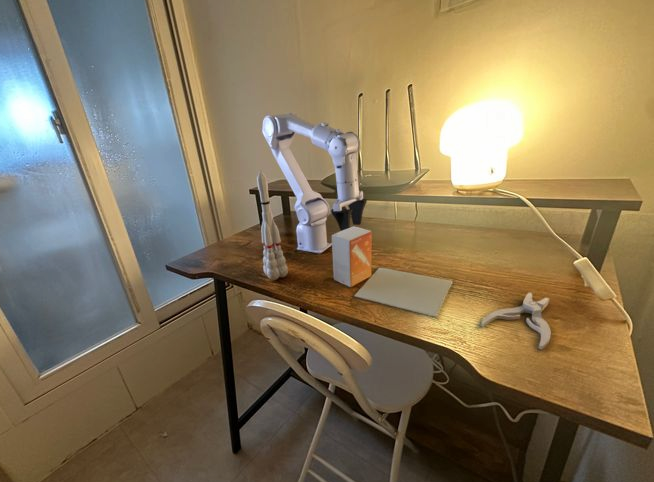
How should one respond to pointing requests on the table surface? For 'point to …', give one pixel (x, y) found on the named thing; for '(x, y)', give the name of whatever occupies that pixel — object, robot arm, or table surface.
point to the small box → (352, 255)
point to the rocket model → (270, 236)
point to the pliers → (537, 318)
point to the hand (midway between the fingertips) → (351, 228)
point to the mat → (406, 291)
